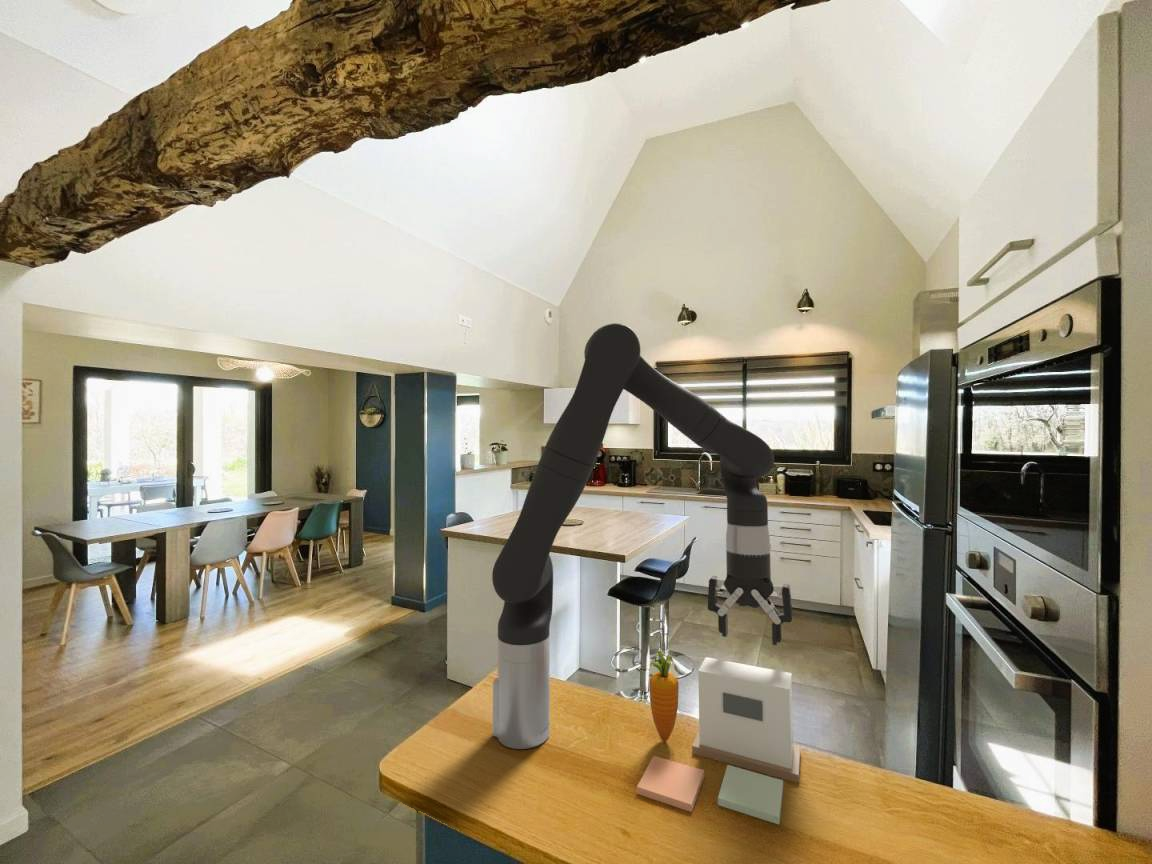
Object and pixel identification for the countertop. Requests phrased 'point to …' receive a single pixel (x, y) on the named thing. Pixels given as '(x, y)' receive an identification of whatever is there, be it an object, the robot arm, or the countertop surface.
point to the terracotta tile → (671, 783)
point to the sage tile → (751, 794)
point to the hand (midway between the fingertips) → (749, 639)
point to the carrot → (664, 697)
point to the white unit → (747, 718)
